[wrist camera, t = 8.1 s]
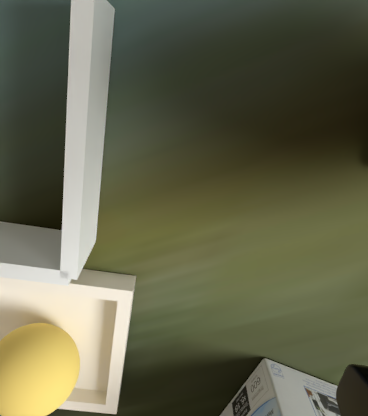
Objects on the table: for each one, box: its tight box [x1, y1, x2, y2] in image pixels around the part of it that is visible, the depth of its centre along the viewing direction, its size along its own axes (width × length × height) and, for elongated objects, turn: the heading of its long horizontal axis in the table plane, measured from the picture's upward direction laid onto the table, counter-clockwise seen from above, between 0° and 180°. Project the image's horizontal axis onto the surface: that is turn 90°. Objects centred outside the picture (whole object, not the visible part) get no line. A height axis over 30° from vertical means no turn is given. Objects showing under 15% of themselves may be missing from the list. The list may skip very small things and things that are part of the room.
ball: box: [0, 323, 80, 416], centre depth 19 cm, size 5×5×5 cm
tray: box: [0, 269, 136, 414], centre depth 21 cm, size 10×10×2 cm
